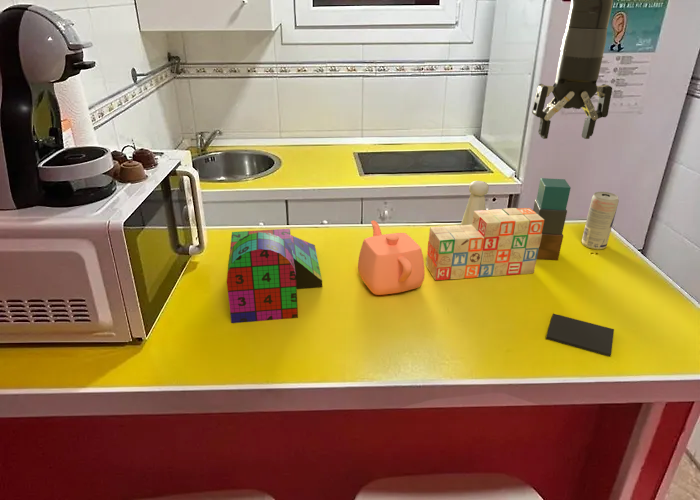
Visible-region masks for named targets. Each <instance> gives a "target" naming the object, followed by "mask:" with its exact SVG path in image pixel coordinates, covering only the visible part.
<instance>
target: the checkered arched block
mask: <svg viewBox="0 0 700 500" xmlns="http://www.w3.org/2000/svg"><path fill="white" fill-rule="evenodd" d="M230 236H231V238H230V246H229V254H228V263H227V271H226V273H227V274H226V287H227V296H228V305H229V313H230V320H231V324H237V323H248V322H263V321H274V320H286V319H298V317H299V314H298V313H299V311H298V291H297V290H301V289H303V290H304V289H316V288H323V279H322V274H321V273H322V272H321V268H320V264H319V259H318V255H317V250H316V245H315V244H313V243H310V242H308V241H306V240H304V239H301V238H298V237H297V236H295V235H292V234H291V228H278V229H277V228H276V229H275V228H274V229H260V230H258V229H257V230H244V231H243V230H241V231H231V235H230Z"/></svg>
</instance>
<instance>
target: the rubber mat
mask: <svg viewBox="0 0 700 500" xmlns="http://www.w3.org/2000/svg"><path fill="white" fill-rule="evenodd" d="M614 333H615V329H614V328H611V327H607V326H603V325H599V324H596V323H592V322H588V321H584V320H580V319H577V318H574V317H573V318H572V317H568V316H564V315H561V314H557V313H552V316H551V318H550V323H549V326H548V329H547V333H546V336H545V340H548V341H552V342H556V343H559V344H562V345H565V346H570V347H574V348H576V349H580V350H584V351H588V352H590V353H595V354H597V355H602V356H605V357H609V358H611V356H612V350H613V341H614Z"/></svg>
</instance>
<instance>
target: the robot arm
mask: <svg viewBox="0 0 700 500" xmlns="http://www.w3.org/2000/svg"><path fill="white" fill-rule="evenodd" d="M613 2H614V0H570V7H569V12H568V16H567V22H566V28H565V31H564V34H563V37H562V42H561V46H560V49H559V51H560V52H559V58H558V63H557V68H556V74H555V81H554V83H553V85H546V84H544V83H539V84H538V85H537V87H536V93H535V97H534V101H533V106H532V110H531V113H532V115H534V116H535V117H537V118H539V119H540V121H539V126H538V135H539V136H540V138H542V139H543V140H548V138H549V134H550V133H549V132H550V128H551V127H550V126H551V119H552V118H553V117H554V115H555V114H556V113H558V112H560V111H561V109H568V110H569V109H572V108H573V109H582V110H583V111H584V113H585V115H586V118H584V122H583V126H582V131H581V138H583V139H584V140H589V139H590V138H591V137H592V136H593V134H594V130H595V127H596V123H597V120H599V119H601V118H607V117H608V115H609V109H610V103H611V99H612V93H613V87H612V86H610V85H608V84H606V83H603V84H601V85H597V82H598V79H599V75H600V70H601V66H602V62H603V58H604V52H605V48H606V43H607V33H608V27H609V24H610V23H609V22H610V18H611V13H612V10H613V9H612V8H613ZM551 93H552V95H553V98H552V99H551V100H550V101H549V102H548V103H547V106H546V107H545V104H546V100H547V98H549V96H550V94H551ZM595 95H597V97H598V98H597V99H598V100H597V106H596V107H595V105H594V103H593V102H592V100H591V99H592V98H593V97H594V96H595Z"/></svg>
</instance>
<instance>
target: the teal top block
mask: <svg viewBox="0 0 700 500" xmlns="http://www.w3.org/2000/svg"><path fill="white" fill-rule="evenodd" d="M571 189H572V187H571V186H570V184H569V183H568V182H567V180H566V178H565V179H564V178H546V177H541V178H539V184H538V190H537V194H536V200H537V202H538V204H539V206H540V208H541V209H552V210H567V207H568V203H569V197H570V192H571Z"/></svg>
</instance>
